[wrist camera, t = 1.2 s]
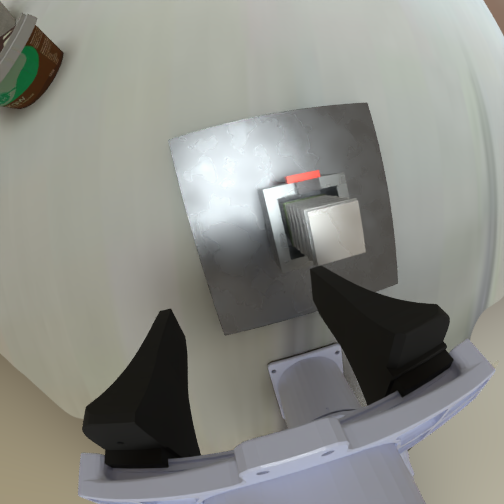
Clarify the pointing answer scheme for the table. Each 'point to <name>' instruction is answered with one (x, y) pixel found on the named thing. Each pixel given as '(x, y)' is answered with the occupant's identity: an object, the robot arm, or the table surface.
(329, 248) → the lift column
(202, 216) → the stand base
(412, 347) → the robot arm
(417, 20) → the table surface
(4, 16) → the house plant
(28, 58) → the food container
